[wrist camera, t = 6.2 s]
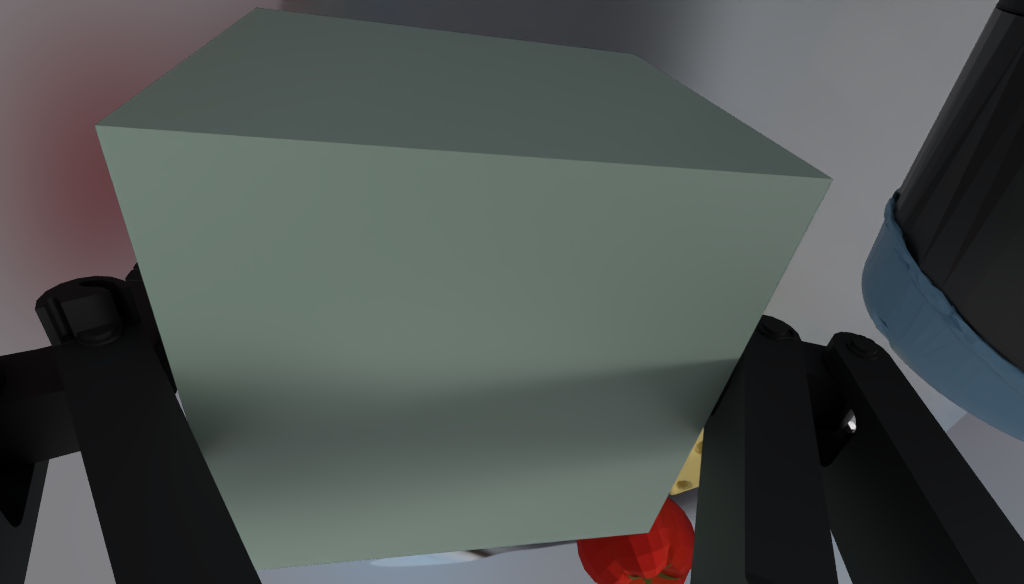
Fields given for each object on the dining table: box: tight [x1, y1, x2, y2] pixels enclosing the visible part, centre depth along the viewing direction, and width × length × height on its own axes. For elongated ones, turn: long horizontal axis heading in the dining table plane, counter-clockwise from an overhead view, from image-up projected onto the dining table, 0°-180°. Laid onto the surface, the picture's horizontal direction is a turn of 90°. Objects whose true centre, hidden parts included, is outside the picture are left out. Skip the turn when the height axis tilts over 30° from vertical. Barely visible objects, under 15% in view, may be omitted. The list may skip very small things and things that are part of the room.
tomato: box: [577, 497, 695, 584], centre depth 53 cm, size 11×12×9 cm
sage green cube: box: [95, 8, 833, 570], centre depth 14 cm, size 10×10×9 cm
